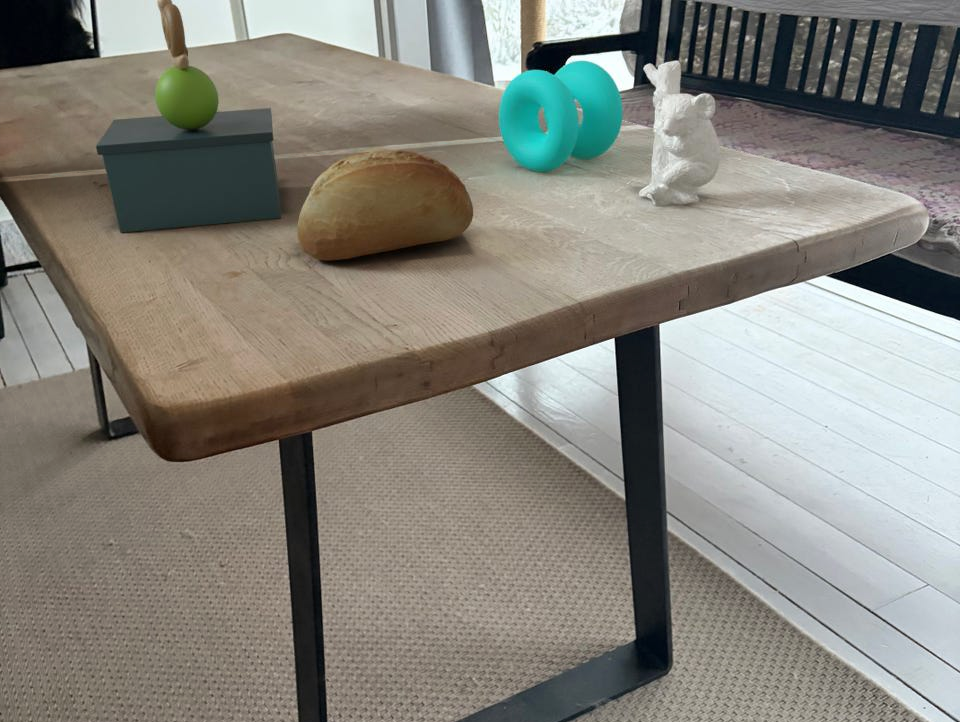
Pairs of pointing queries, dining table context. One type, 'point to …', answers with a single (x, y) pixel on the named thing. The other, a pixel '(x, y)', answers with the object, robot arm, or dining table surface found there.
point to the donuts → (560, 115)
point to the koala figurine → (680, 139)
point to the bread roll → (382, 205)
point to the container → (191, 171)
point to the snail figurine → (183, 79)
